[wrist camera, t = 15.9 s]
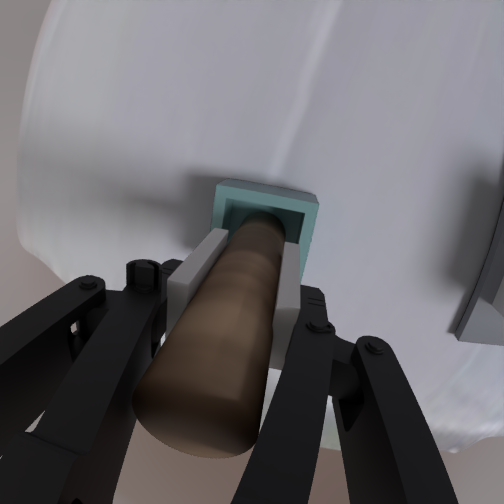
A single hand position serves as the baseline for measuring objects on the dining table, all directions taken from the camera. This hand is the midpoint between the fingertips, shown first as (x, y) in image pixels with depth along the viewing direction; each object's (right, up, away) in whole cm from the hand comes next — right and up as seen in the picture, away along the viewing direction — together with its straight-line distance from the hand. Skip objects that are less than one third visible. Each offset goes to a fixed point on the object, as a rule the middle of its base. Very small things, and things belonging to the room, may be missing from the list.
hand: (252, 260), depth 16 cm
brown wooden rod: (+1, +2, +5) cm, 5 cm away
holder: (+1, +2, +6) cm, 7 cm away
